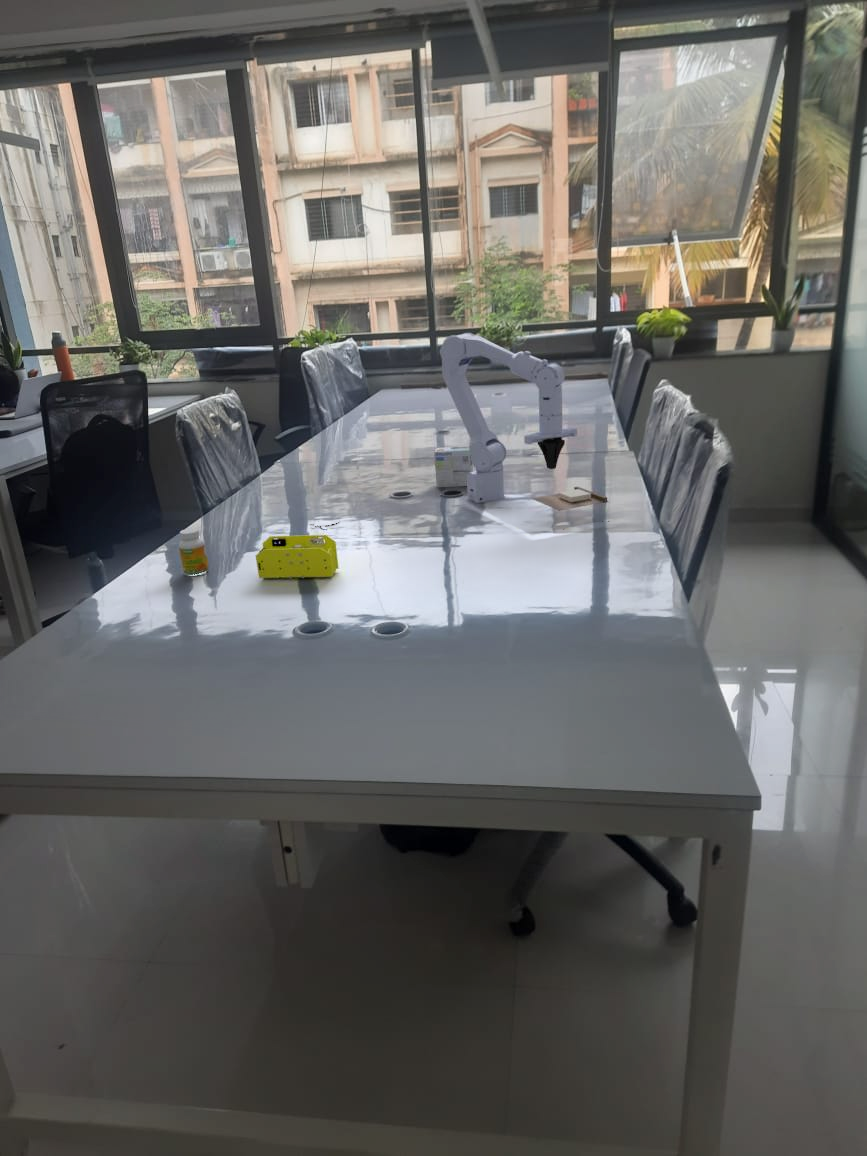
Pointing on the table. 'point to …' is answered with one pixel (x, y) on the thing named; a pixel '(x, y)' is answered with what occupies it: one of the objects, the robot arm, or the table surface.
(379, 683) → the table surface
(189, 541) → the supplement bottle
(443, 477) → the light bulb box
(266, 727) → the table surface
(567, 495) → the tile
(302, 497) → the table surface
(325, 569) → the yellow toy chassis
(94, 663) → the table surface
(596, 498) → the board
